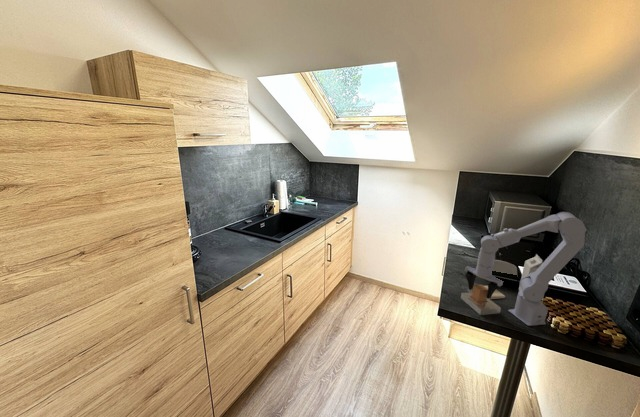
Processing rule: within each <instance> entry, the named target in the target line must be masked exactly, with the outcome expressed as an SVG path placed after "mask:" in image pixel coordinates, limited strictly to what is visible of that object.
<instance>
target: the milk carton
mask: <svg viewBox="0 0 640 417" xmlns="http://www.w3.org/2000/svg"><path fill="white" fill-rule="evenodd" d="M543 262H544V260H543V259H542V258H541V257H540V256H539V255H538V254H537V253H536V254H535V256H534V257H532V258H529V259H527V260H525V261H524V265H523V267H522V268H523V270H522V272H521V278H520V280H521V279H522V278H524V277H526V276H528V275H529V274H530V273H533V272H535V271H536V270H537V269H538V268H539V267H540V266H541V264H542V263H543ZM521 289H522V288H521V286H520V285H519V287H518V292H519V291H520V290H521Z"/></svg>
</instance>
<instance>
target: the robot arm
mask: <svg viewBox="0 0 640 417" xmlns="http://www.w3.org/2000/svg"><path fill="white" fill-rule="evenodd" d="M545 231H547V232H551V233H559V234H560V235H561V238H562V241H561V242H560V243H559V244H558V245H557V247H556V248H554V250H553V251H552V252H551V253H550V254H549V256H547V258H545V260H543V261H542V262H543V263H542V264H541V266H540V267H539V268H538V269H537V270H536V271H535V272H533V273H530V274H529V275H528V276H526V277H524V278H522V279H521V278H520V280H519V286H521V288H522V289H521V290H520V291H519V290H518V293H517V296H516V301H515V306H514V308H512V309H508V310H507V311H508V312H509V313H510V314H512V315H513V316H514V317H515V318H517V319H519V320H520V321H522V322H523V323H524V324H525V325H527V327H529V326H530V327H531V326H540V325H542V326H543V325H546V317H547V314H548V307H547V306H546V305H545V304H544V303H543V300H542V299H544V297H545V293H546V292H547V291H548V288H549V285H550V282H551V281H552V280H553V279H554V278H555V277H556V275H558V273H560V271H561V270H562V269H564V267H566V265H567V264H568V263H569V262H570V261H571V260H572V259H573V258H574V257H575V256H576V255H577V253H578V252H579V251H580V250H581V249H582V248H583V247H585V246H584V245H585V239H586V232H587V228H586V226H585V224H584V222H583V221H582V219H580V218H577V217H576V216H575V215H574V214H573V213H572V212H569V211H560V212H558V213H556V214H550V215H548V216H545V217H544V218H542V219H539V220H537V221H535V222H532V223H530V224H527V225H524V226H522V227H520V228H517V229H515V228H507V227H505V228H503V230H502V231H500V232H497V233H490V235H484V236H483V237H482V238H481V239H480V248H479V252H478V257H477V262H476V267H475V268H474V267H472V266H468V265H467V266H465V268H464V272H466V273H465V274H464V276H465V279H466V280H467V284H468V285H467V286H468V289H469V290H473V285H475V281H476V277H478V278H481V279H483V280H486V281H488V282H490V283H488V284H487V286H488V293H487V298H488V299H489V298H491V296H492V294H493V293H494V291H495V290H497V289H498V288H499V287H501V286H503V285H504V284H503V283H504V281H502V280H500V279H498V278H496V277H495V276H493V275H492V270H493V265H494V261H495V260H496V253H497V251H499V249H501V248H504V247H508V246H511V245H514V244H516V243H520V240H521V238H525V237H527V236H528V237H529V236H531V235H535V234H538V233H542V232H545ZM541 300H542V301H541Z"/></svg>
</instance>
